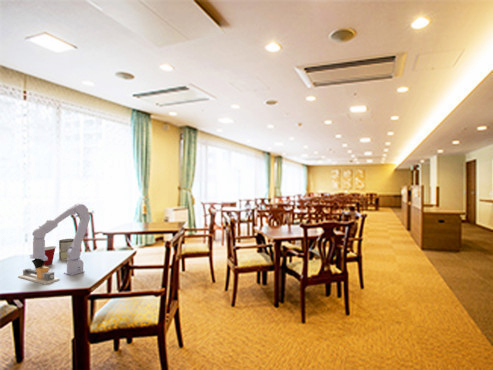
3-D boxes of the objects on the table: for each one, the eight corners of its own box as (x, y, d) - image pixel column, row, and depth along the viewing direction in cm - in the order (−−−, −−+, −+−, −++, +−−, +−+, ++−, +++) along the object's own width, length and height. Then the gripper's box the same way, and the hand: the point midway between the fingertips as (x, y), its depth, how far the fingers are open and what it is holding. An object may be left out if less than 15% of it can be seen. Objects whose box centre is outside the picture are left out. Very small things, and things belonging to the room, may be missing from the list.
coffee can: (55, 259, 209) (55, 240, 209) (68, 255, 219) (68, 238, 219) (65, 260, 205) (65, 241, 206) (77, 257, 215) (78, 239, 215)
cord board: (59, 280, 162) (59, 271, 162) (44, 284, 155) (44, 275, 155) (33, 273, 175) (33, 265, 175) (18, 277, 167) (18, 268, 167)
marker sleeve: (49, 276, 164) (49, 267, 164) (40, 279, 160) (40, 269, 160) (44, 275, 166) (44, 266, 166) (35, 277, 162) (36, 268, 162)
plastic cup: (40, 263, 198) (40, 246, 198) (57, 261, 202) (58, 245, 202) (34, 267, 188) (34, 249, 188) (53, 265, 191) (53, 248, 192)
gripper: (24, 248, 165) (24, 271, 164) (38, 251, 158) (38, 274, 158) (37, 246, 171) (37, 268, 171) (51, 248, 165) (51, 271, 164)
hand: (38, 271), depth 165 cm, fingers closed
